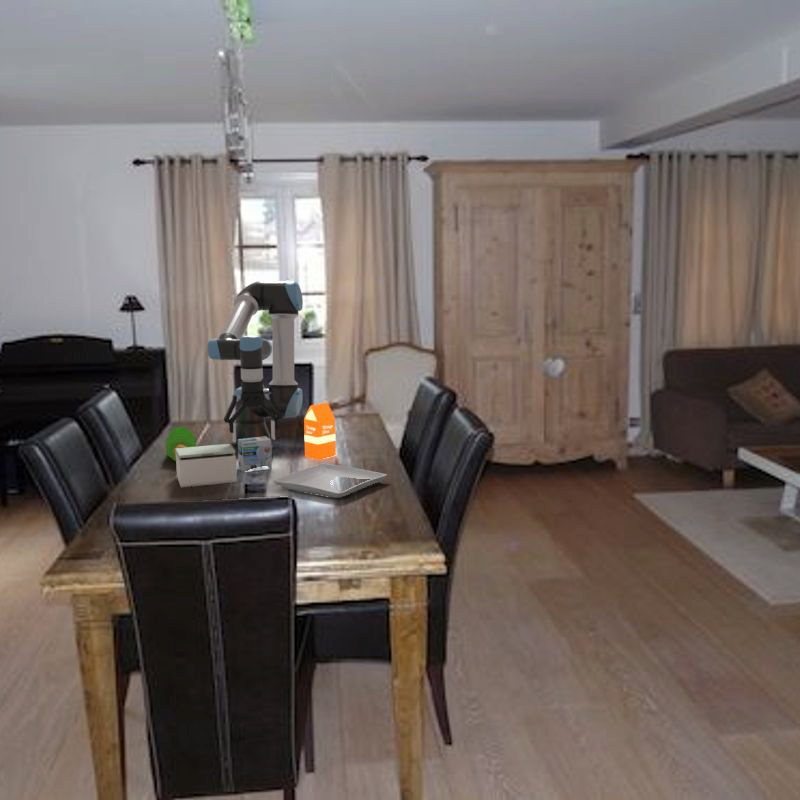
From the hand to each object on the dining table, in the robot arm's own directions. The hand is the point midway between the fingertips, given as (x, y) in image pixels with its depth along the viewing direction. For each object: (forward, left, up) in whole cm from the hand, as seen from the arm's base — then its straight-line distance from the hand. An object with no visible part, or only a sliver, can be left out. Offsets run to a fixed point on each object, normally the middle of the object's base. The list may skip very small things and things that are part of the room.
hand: (254, 440), depth 284 cm
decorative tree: (+22, -29, -11) cm, 38 cm away
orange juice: (-26, -9, -11) cm, 30 cm away
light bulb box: (0, 0, -11) cm, 11 cm away
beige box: (+18, +8, -10) cm, 22 cm away
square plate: (-19, +31, -11) cm, 38 cm away
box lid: (+18, +8, -1) cm, 19 cm away
